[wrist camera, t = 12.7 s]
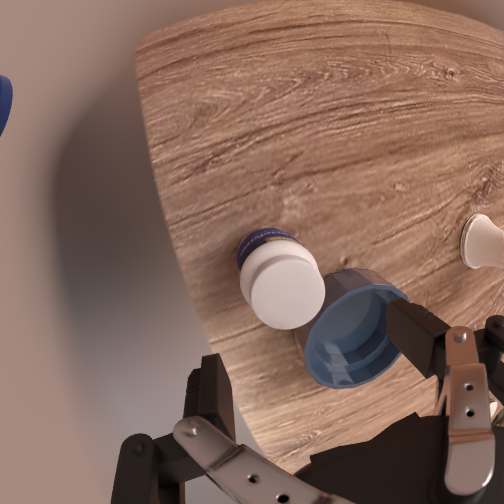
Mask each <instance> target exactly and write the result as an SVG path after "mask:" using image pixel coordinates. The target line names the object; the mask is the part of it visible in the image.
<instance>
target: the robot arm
mask: <svg viewBox="0 0 504 504" xmlns="http://www.w3.org/2000/svg"><path fill="white" fill-rule="evenodd" d="M386 331H387V335H388V338H389V339H390V341H391V342H392V343H393V344H394V345H395V346H396V347H397V348H398V349H399V350H400V351H401V352H402V353H403V354H404V356H405V357H406V358H407V359H408V360H409V361H410V362H411V363H412V364H413V365H414V366H415V367H416V368H417V369H418V370H419V371H420V372H421V374H422V375H423V376H424V377H425V378H426V379H428V378H430V377H432V376H433V375H436V376H437V380H436V393H435V406H434V414H433V415H432V416H425V417H421V418H420V417H419V416H418V415H417V413H416V412H414V413H412V414H411V415H409V416H407V417H405V418H403V419H401V420H399V421H397V422H395V423H393V424H391V425H390V426H389V427H388V428H386V429H385V430H384V431H382V432H381V433H380V434H378V435H377V436H375V437H374V438H373V439H371V440H369V441H366V442H361V443H356V444H350V445H344V446H338V447H335V448H332V449H329V450H326V451H323V452H320V453H317V454H313V455H310V460H311V463H309V464H308V465H306V466H304V467H303V468H301V469H300V470H298V471H297V472H296V473H295V474H293V475H291V474H290V473H288V472H286V471H285V470H283V469H281V468H280V467H278V466H277V465H275V464H273V463H272V462H270V461H269V460H267V459H266V458H264V457H263V456H261V455H260V454H258V453H257V452H255V451H254V450H252V449H251V448H249V447H247V446H246V445H244V444H241V445H238V444H236V438H235V425H234V412H233V397H232V387H231V383H230V379H229V377H228V374H227V372H226V369H225V367H224V364H223V362H222V359H221V357H220V354H219V353H216V354H212V355H207V356H203V357H202V363H201V368H198V369H194V370H193V371H192V372H191V374H190V375H189V377H188V382H187V390H186V397H185V405H184V406H185V407H184V414H183V419H182V420H180V421H179V422H178V423H177V424H176V425H175V427H174V429H173V432H172V433H170V434H168V435H165V436H162V437H159V438H156V439H154V440H152V438H151V437H150V436H148V435H146V434H141V433H140V434H134V435H132V436H130V437H128V438H127V439H126V440H125V441H124V442H123V443H122V445H121V449H120V454H119V459H118V464H117V469H116V475H115V480H114V486H113V492H112V498H111V504H185V482H186V481H188V480H191V479H194V478H197V477H200V476H203V475H205V476H206V477H208V478H209V479H210V480H211V481H212V482H213V483H214V484H215V485H216V486H217V487H218V488H219V489H221V490H222V491H223V492H224V493H225V494H226V495H228V496H229V497H230V498H231V499H232V500H233V501H234V502H236V503H237V504H504V427H502V426H495V425H491V412H490V398H489V390H490V391H491V392H492V394H493V395H494V396H495V397H496V398H497V399H498V400H499V401H500V402H501V403H502V405H503V406H504V363H503V362H502V361H501V358H502V355H503V353H504V316H501V315H494V316H491V317H489V318H488V319H487V320H486V324H485V328H483V329H480V330H477V331H472V330H471V329H469V328H467V327H464V326H456V327H450V326H449V325H448V324H446V323H445V322H444V321H442V320H441V319H440V318H438V317H437V316H434V314H433V313H431V312H429V311H428V310H427V309H426V308H424V307H423V306H421V305H418V304H415V303H410V302H408V301H407V300H405V299H404V298H402V297H400V298H398V299H395V300H393V301H390V302H388V303H387V305H386Z"/></svg>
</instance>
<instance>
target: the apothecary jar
mask: <svg viewBox="0 0 504 504" xmlns="http://www.w3.org/2000/svg"><path fill="white" fill-rule="evenodd" d="M497 424H499V426H502V427H504V409H503V410H502V411H501V412H500V413H499V414H498V416H497V417H496V419H495V420H494V421H493V422H492V424H491V425H495V426H496V425H497Z"/></svg>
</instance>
